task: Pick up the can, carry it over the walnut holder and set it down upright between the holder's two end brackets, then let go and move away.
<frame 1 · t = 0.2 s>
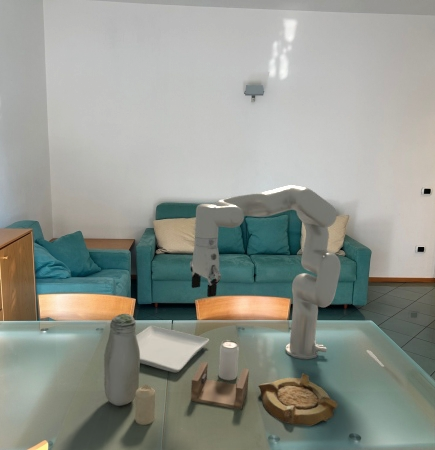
hand: (203, 291, 149), 30 cm above the table, tool pointing down, fingers open, 9 cm apart
gray bottle: (121, 402, 136), on the table
candle: (144, 419, 128), on the table
square plate: (163, 354, 168), on the table
butter knife: (384, 368, 166), on the table
ashtray: (295, 404, 140), on the table
can: (227, 376, 154), on the table
holder: (220, 394, 142), on the table
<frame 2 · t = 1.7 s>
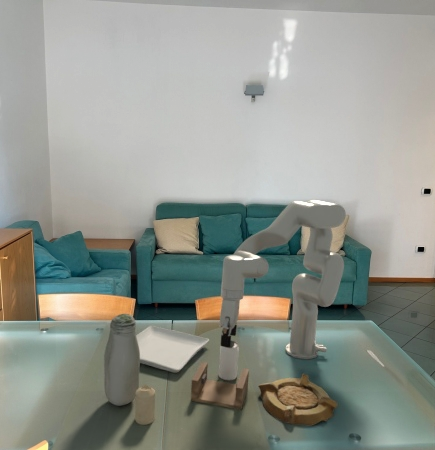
hand: (228, 340, 151), 13 cm above the table, tool pointing down, fingers open, 9 cm apart
nothing on the table moved.
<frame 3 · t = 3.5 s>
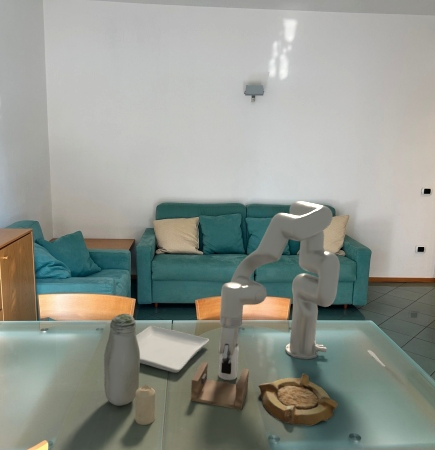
hand: (228, 367, 153), 3 cm above the table, tool pointing down, fingers closed on can, 6 cm apart
can: (227, 376, 154), on the table, touching gripper
everything else where it was.
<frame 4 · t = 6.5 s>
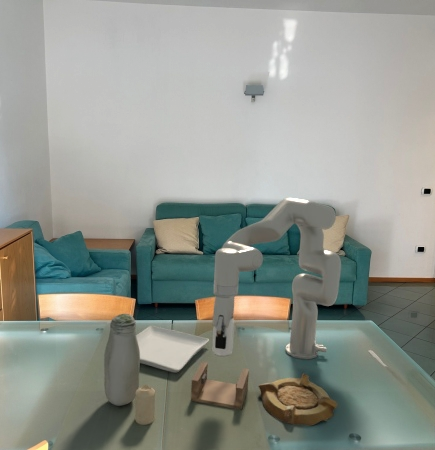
hand: (222, 342, 139), 18 cm above the table, tool pointing down, fingers closed on can, 6 cm apart
can: (222, 352, 140), point 14 cm above the table, touching gripper
everything else where it was.
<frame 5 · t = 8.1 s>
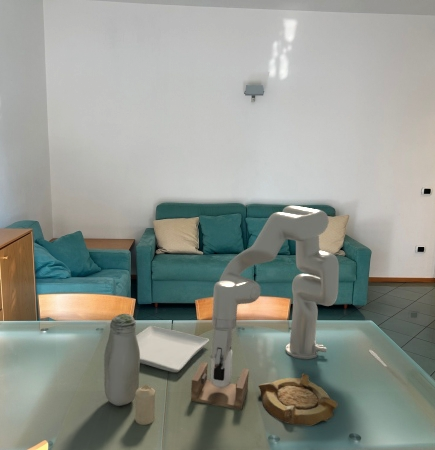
hand: (221, 373, 141), 7 cm above the table, tool pointing down, fingers closed on can, 6 cm apart
can: (220, 383, 142), point 4 cm above the table, touching gripper
when the fingers open (6 cm above the table, at t = 9.4 s): can drops 2 cm, resting on holder.
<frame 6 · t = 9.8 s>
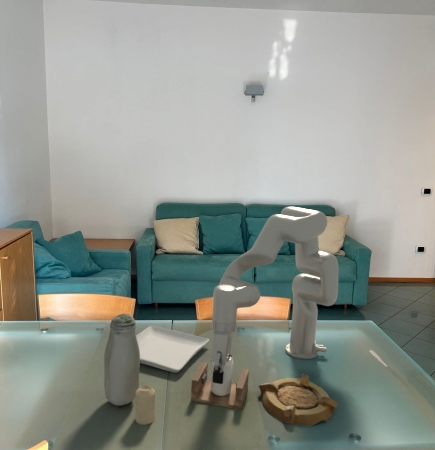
hand: (221, 375, 141), 7 cm above the table, tool pointing down, fingers open, 9 cm apart
can: (220, 391, 142), point 1 cm above the table, touching holder
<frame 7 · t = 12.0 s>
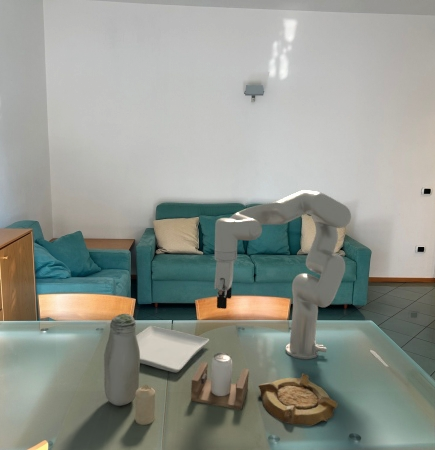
hand: (224, 302, 153), 25 cm above the table, tool pointing down, fingers open, 9 cm apart
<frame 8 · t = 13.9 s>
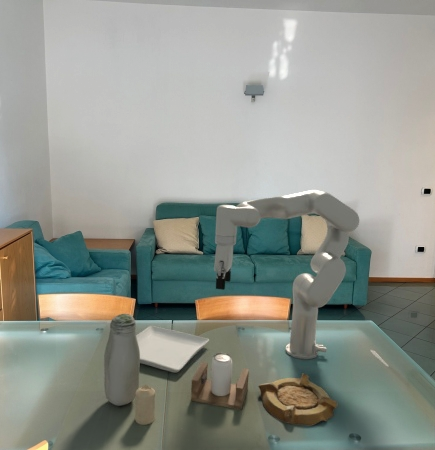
hand: (223, 284, 162), 28 cm above the table, tool pointing down, fingers open, 9 cm apart
at the end: can inside the target area on the holder (0.2 cm from its centre), point 0.8 cm above the holder's base; can tilted 0°; the gripper is holding nothing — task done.
